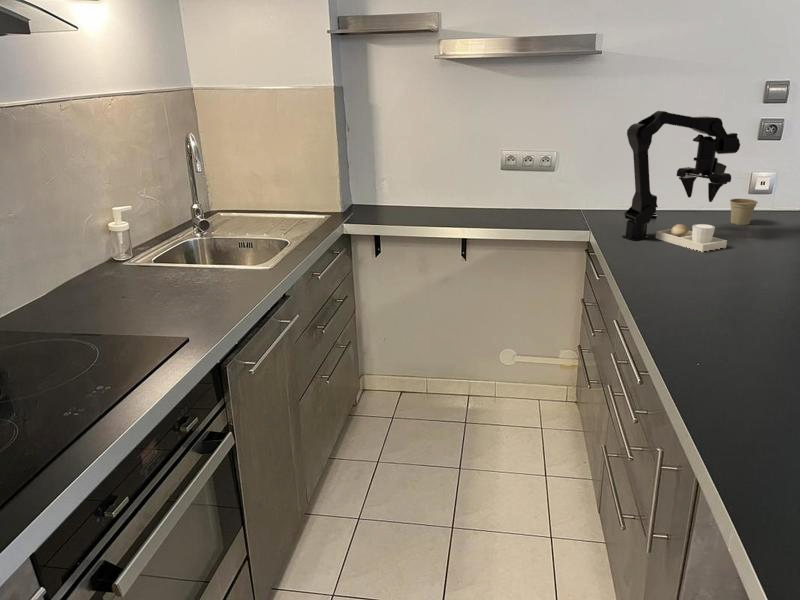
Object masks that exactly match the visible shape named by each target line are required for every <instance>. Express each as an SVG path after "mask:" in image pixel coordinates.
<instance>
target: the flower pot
mask: <svg viewBox="0 0 800 600" xmlns="http://www.w3.org/2000/svg"><path fill="white" fill-rule="evenodd" d="M729 203H730V224H733V225H736V226H737V225H738V226H745V225H747V226H748V225H750V222H751V219H752V216H753V213H754V210H755V208H756V207H757V205H758V204H759V203H758V201H757V200H754V199H751V198H750V199H749V198H732V199H729Z"/></svg>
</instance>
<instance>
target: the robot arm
mask: <svg viewBox="0 0 800 600" xmlns="http://www.w3.org/2000/svg"><path fill="white" fill-rule="evenodd" d="M664 125H670V126H678V127H683V128H688V129H691V130H693V131H695V132H697V133H700V134H698V135H697V136H696V137H694V138H693V139H692V142H696V143H697V153H696V156H695V157H693V161H694V162H695V167H691V166H686V167H679V168H678V169H677V171H676V177H678V179H679V180H680V181H681V183H682V185H683V188H684V190H685V194H686V195H687V198H692V195H693V190H694V184H695V181H696V179H697V178H703V179H706V180H707V179H708V180H709V182H708V185H707V186H708V187H707V188H708V189H707V190H708V194H707V195H708V202H709V203H712V202H713V201H714V200H715V199H714V198H715V197H716V196H717V193H718V191H719V190H720V189H721V187H722V186H724V185H726V184H728V183H731V182H732V174H731V173H727V172H725V171H726V169H727V165H726V164H724V163H720V162H718V161H719V158H718V157H716V154H718V155H726V154H727V155H729V154H736V153H737V152H738V151H739V150H740V148H741V143H740V139H739V138H738V133H735V132H729V133H727V131H726V129H725V128H724V126H723V125H724V124H723V120H722V118H720V117H714V116H689V115H684V114H678V113H673V112H672V113H671V112H667V111H665V110H657V111H655V112H654V113H652V114H651V115H649V116H647V117H645V118H643V119H641V120H640V121H638V122H636V123H633V124H631V125H630V126H629V128H627V131H626V137H627V140H628V144H629V146H630V148H631V150H632V153H633V154H632V155H633V171H634V172H633V173H634V187H635V192H634V194H633V196H632V200H631V206H630V207H629V208H628V209H627V210H626V211H625V212H624V214H623V215H624V218H625V219H626V220H627V221H626V230H625V234H623V235H622V238H625V239H628V240H631V241H641V240H642V241H643V240H648V239H650V238H649V236H647V231H648V224H650V222H651V219H652V217H653V216H654V214H656V212H657V208H658V203H657V202H658V197H657V195H654V194H653V193H652V192H651V183H650V167H649V166H650V163H649V149H650V147H651V144H652V140H653V135H656V134H657V132H658V131H660V129H662V127H663V126H664ZM704 135H705V136H704Z"/></svg>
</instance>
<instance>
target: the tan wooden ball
mask: <svg viewBox="0 0 800 600" xmlns="http://www.w3.org/2000/svg"><path fill="white" fill-rule="evenodd" d="M670 229H671V235H673V236H677V237H685V236H687V235H688V230H689V229H688V227H687V225H685V224H682V223H677V224H674V225H673V226H672V228H670Z"/></svg>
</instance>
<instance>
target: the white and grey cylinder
mask: <svg viewBox="0 0 800 600" xmlns="http://www.w3.org/2000/svg"><path fill="white" fill-rule="evenodd" d="M715 229H716V227H715V226H714V225H713V224H712V225H711V224H705V223H699V224H697V223H696V224H693V225H692V230H691V231H692V241H694V242H698V243H701V244H707V243H711V242H712V238H713V237H714V233H715Z"/></svg>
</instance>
